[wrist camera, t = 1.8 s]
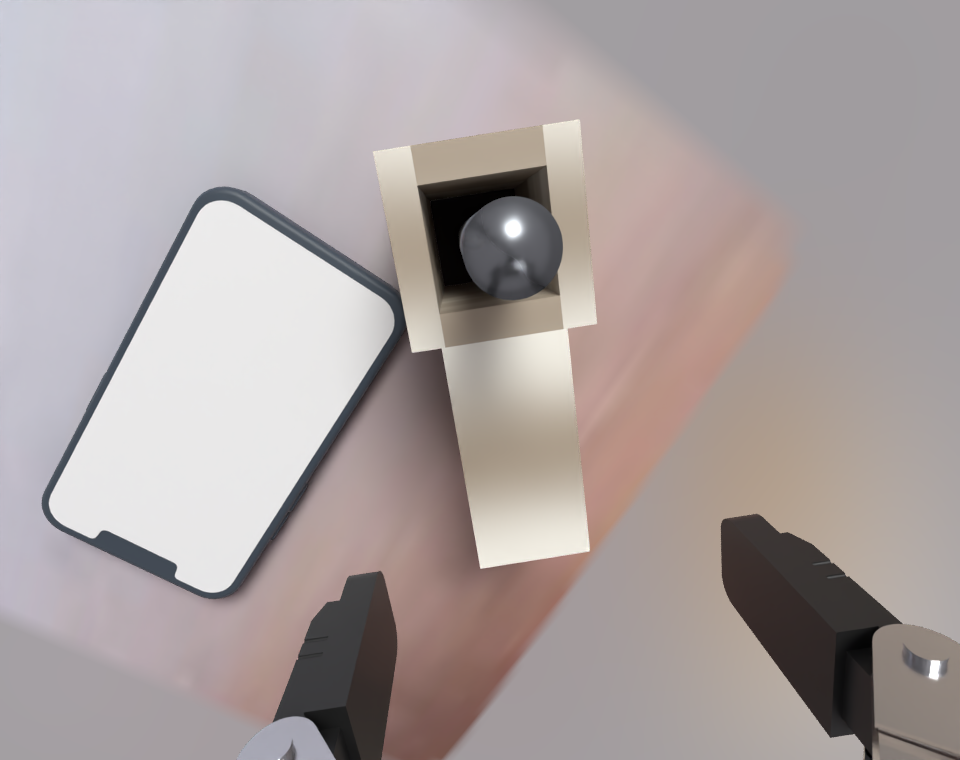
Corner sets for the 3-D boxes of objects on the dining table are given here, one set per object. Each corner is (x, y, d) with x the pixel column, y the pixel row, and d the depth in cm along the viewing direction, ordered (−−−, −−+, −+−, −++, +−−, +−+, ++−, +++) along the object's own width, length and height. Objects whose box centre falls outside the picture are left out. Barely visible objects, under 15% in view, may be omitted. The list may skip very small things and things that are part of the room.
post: (454, 219, 19) (455, 204, 8) (496, 213, 19) (557, 188, 8) (461, 262, 20) (471, 307, 8) (502, 256, 20) (568, 291, 8)
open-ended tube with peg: (402, 179, 19) (373, 151, 12) (535, 158, 19) (579, 119, 12) (454, 469, 22) (454, 572, 16) (567, 451, 22) (615, 547, 16)
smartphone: (224, 173, 19) (53, 498, 22) (204, 168, 18) (24, 517, 21) (423, 304, 21) (240, 588, 24) (421, 309, 19) (226, 612, 22)
